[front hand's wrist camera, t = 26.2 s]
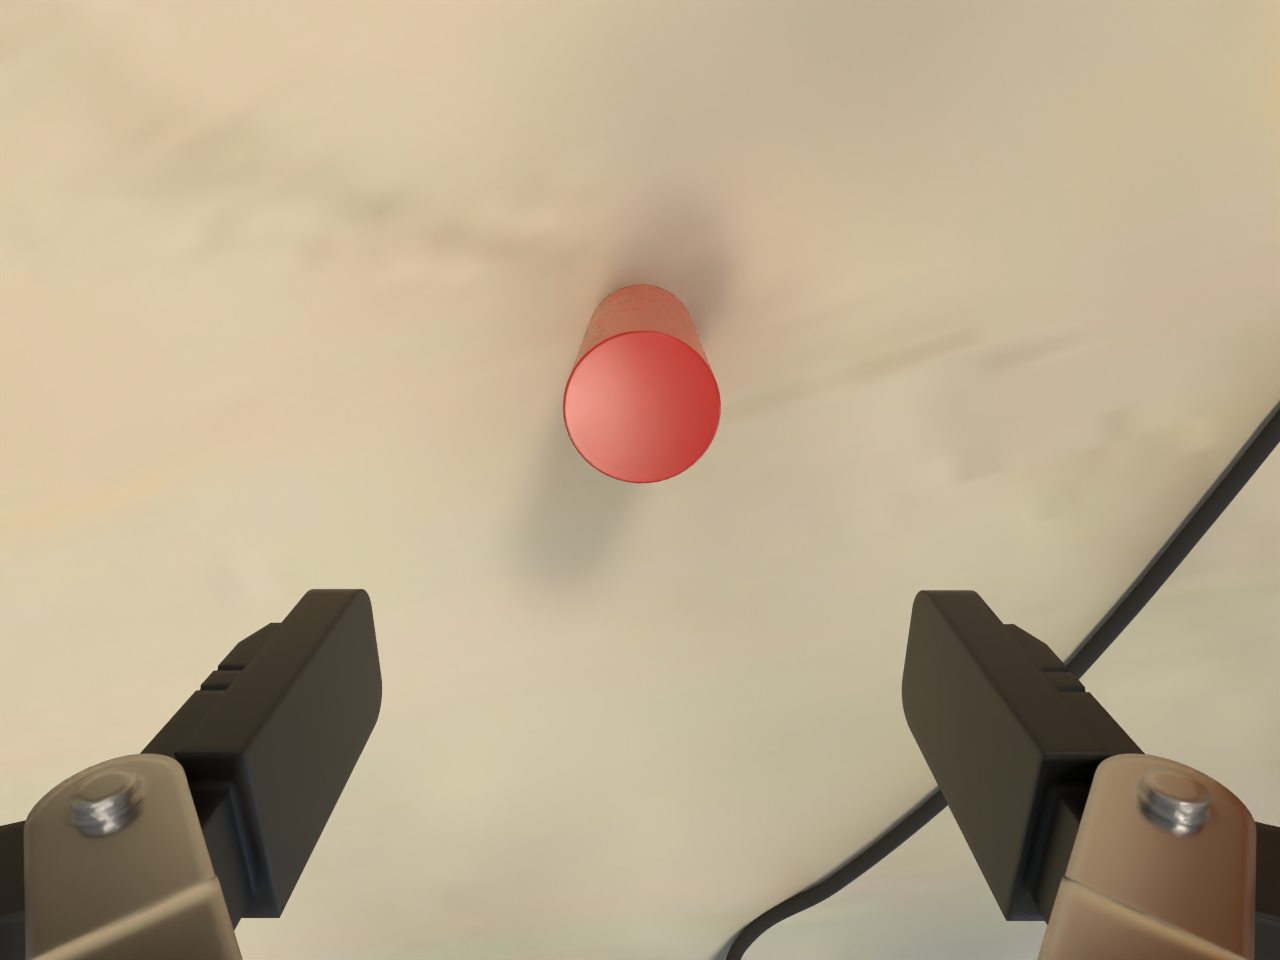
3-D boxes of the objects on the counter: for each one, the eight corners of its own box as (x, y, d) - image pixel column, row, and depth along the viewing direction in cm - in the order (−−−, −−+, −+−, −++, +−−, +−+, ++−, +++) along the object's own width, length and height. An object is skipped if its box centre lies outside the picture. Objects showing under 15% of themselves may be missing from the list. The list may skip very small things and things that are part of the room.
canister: (628, 411, 37) (622, 511, 25) (566, 325, 35) (530, 390, 24) (714, 352, 36) (750, 429, 24) (655, 262, 34) (662, 298, 23)
